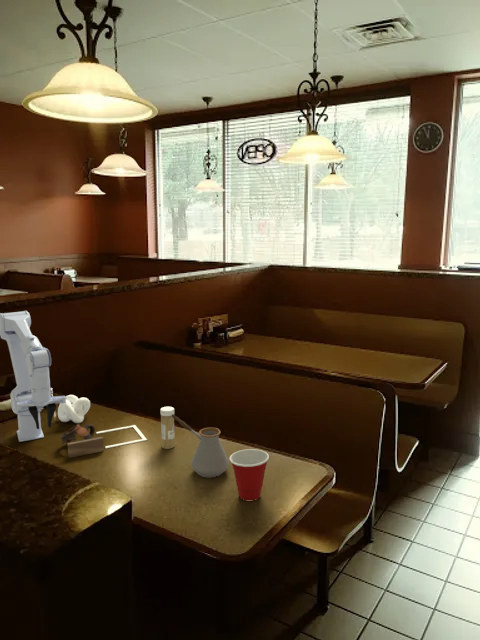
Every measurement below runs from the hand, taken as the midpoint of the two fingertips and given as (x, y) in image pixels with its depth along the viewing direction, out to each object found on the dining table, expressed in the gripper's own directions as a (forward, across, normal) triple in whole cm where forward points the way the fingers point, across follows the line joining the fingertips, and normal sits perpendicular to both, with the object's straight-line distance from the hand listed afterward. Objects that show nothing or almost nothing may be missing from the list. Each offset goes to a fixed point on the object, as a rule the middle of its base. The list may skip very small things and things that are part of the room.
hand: (43, 426), depth 168 cm
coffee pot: (+9, +40, -33) cm, 53 cm away
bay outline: (+8, +24, 0) cm, 26 cm away
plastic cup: (+9, +46, -55) cm, 72 cm away
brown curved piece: (+9, +11, 0) cm, 14 cm away
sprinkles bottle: (+9, +37, -15) cm, 41 cm away
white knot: (+9, +14, +23) cm, 28 cm away
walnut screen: (+8, +12, -8) cm, 16 cm away
